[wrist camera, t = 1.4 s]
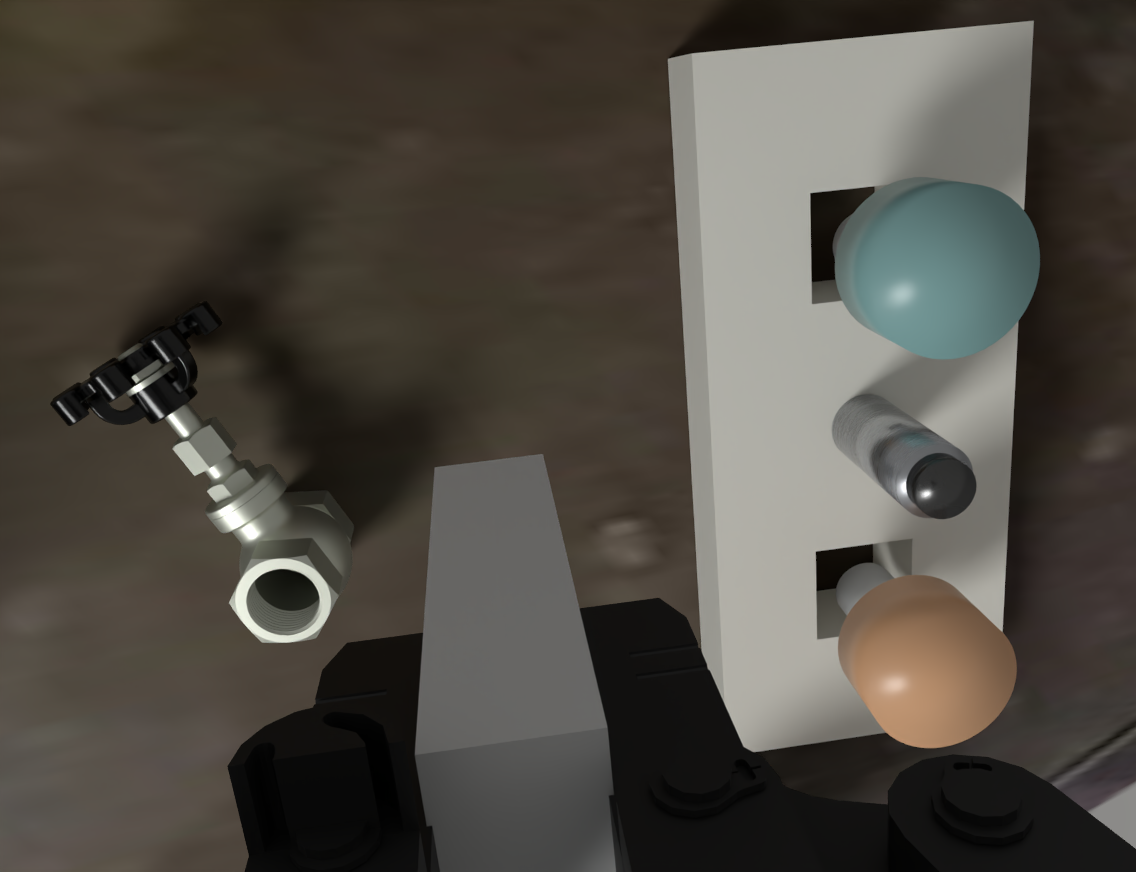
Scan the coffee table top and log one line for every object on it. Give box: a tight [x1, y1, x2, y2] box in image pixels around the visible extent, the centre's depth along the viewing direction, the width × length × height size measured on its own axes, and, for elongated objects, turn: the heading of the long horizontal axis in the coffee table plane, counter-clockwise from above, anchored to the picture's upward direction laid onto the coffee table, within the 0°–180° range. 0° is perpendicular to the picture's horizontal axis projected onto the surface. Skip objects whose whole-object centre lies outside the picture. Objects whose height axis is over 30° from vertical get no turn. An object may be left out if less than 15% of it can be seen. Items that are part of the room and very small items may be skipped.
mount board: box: [668, 21, 1034, 752], centre depth 41 cm, size 12×28×4 cm, turn 5°
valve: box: [50, 301, 354, 643], centre depth 38 cm, size 7×7×12 cm
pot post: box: [832, 394, 977, 519], centre depth 35 cm, size 3×3×7 cm
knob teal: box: [833, 177, 1040, 360], centre depth 33 cm, size 5×5×7 cm
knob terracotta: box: [836, 563, 1017, 748], centre depth 38 cm, size 5×5×7 cm
